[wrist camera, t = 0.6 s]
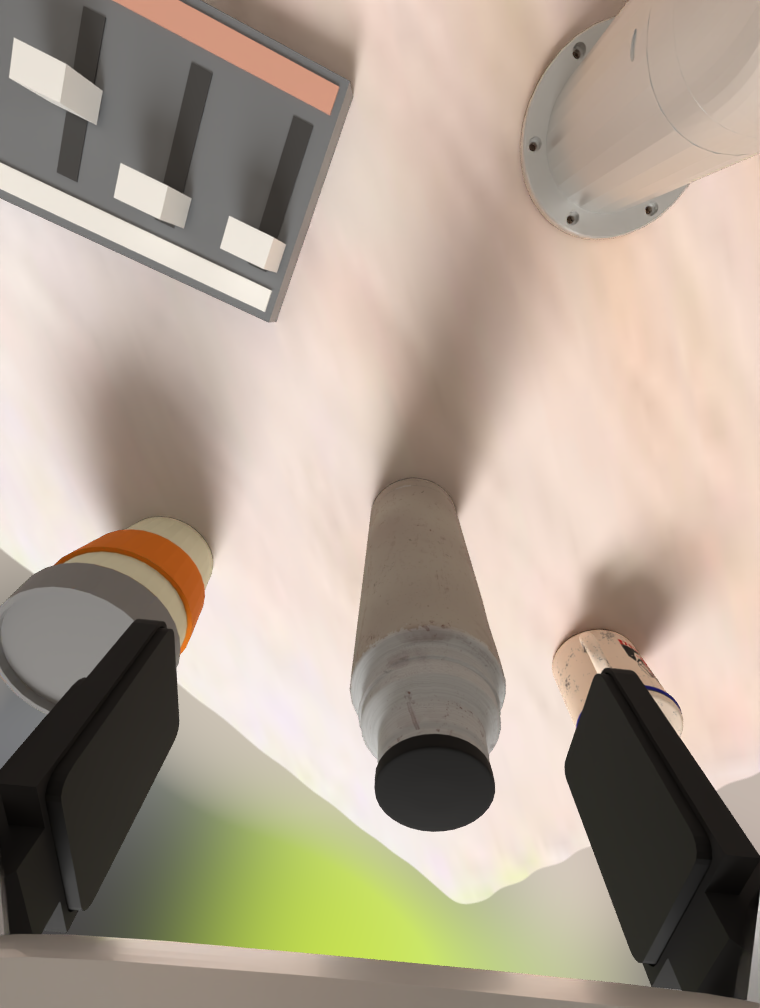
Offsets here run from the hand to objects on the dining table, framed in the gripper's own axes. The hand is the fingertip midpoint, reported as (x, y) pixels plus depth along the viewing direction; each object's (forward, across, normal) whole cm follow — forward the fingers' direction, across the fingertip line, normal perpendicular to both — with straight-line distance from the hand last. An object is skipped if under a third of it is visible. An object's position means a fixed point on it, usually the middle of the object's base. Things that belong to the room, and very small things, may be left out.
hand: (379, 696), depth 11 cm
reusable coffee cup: (+34, +20, +17) cm, 43 cm away
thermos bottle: (+34, -3, +10) cm, 35 cm away
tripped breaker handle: (+30, +23, -19) cm, 42 cm away
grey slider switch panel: (+33, +19, -18) cm, 42 cm away
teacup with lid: (+34, -23, +22) cm, 47 cm away
